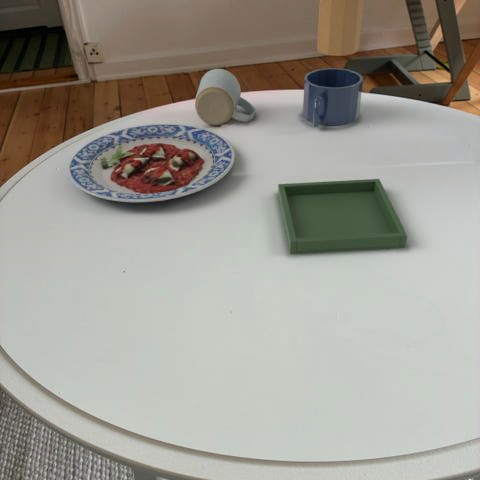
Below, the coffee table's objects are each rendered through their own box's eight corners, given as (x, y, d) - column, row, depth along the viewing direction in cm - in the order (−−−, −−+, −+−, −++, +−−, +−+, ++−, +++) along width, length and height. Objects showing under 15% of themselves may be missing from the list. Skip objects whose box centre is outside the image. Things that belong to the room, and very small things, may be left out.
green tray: (377, 190, 79) (379, 178, 78) (404, 248, 68) (407, 235, 67) (278, 195, 79) (278, 183, 77) (289, 254, 68) (290, 242, 67)
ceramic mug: (194, 127, 97) (191, 83, 91) (201, 109, 103) (198, 67, 97) (253, 129, 96) (253, 85, 91) (256, 111, 102) (257, 68, 97)
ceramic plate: (266, 157, 88) (266, 139, 85) (163, 233, 72) (161, 214, 70) (147, 124, 99) (144, 108, 97) (36, 184, 83) (30, 166, 81)
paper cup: (353, 42, 92) (361, -42, 84) (361, 54, 87) (371, -33, 79) (314, 44, 92) (319, -40, 84) (321, 57, 87) (326, -31, 79)
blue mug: (314, 103, 103) (316, 65, 99) (365, 111, 100) (370, 72, 95) (287, 130, 95) (288, 89, 90) (341, 139, 91) (345, 98, 87)
